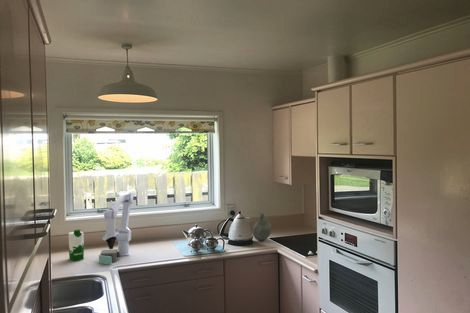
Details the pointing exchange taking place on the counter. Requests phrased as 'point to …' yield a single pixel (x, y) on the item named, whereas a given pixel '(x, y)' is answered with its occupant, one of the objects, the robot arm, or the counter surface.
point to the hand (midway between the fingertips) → (111, 248)
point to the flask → (261, 229)
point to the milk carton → (76, 245)
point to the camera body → (111, 254)
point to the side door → (105, 259)
